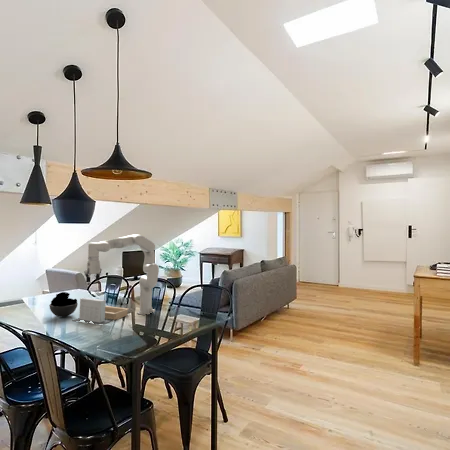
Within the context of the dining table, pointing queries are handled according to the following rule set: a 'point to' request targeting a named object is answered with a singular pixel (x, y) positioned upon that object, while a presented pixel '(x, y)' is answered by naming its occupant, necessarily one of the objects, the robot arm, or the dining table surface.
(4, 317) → the dining table surface
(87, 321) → the mat
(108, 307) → the wooden frame
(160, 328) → the dining table surface
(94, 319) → the skincare box
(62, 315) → the coal bowl
